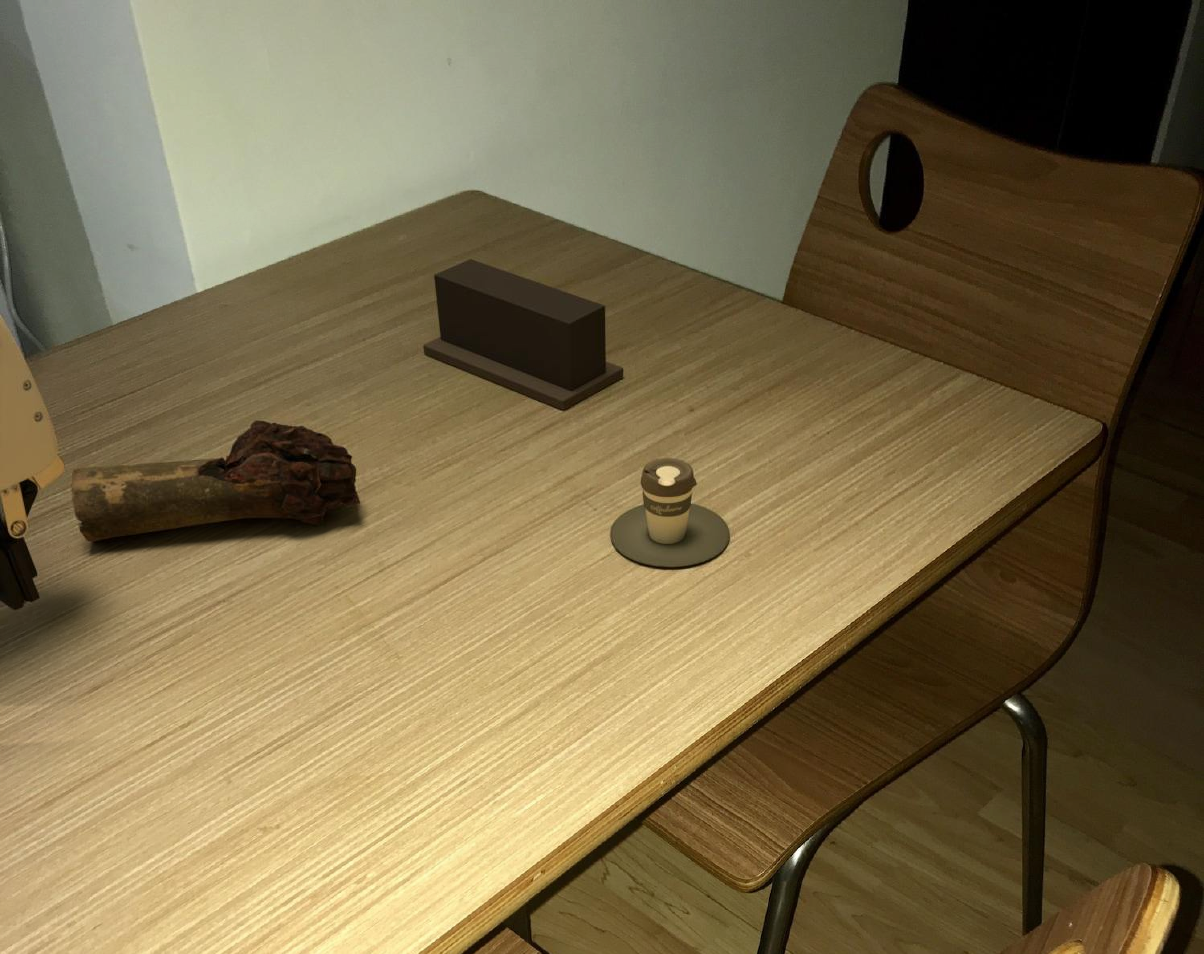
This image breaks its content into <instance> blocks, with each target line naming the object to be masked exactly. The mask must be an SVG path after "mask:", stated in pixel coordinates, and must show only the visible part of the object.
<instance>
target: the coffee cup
mask: <svg viewBox="0 0 1204 954" xmlns="http://www.w3.org/2000/svg"><path fill="white" fill-rule="evenodd" d="M697 484H698V483H697V479H696V478H695V475H694V469H693V467H692V466H691V465H690V463H688V462H686V461H684V460H682V459H679V458H675V457H674V458H673V457H663V458H657V459H653V460H651V461H649V462H647V463H646V464H645V465H644V466H643V469H642V472H641V478H640V486H641V488H642V502H643V504H640V505H637V506H635V507H632V508H630V509H628V510H626V511H624V512H623V513H622V514H620V515H619V516H618V517H617V518H615V520H614V522H613V523H612V525H611V527H610V532H609V536H610V541H611V543H612V545H613V547H614V549H615V550H616V551H617V552H618V553H619V554H620V555H621V556H622V557H624V558H626V559H628V560H630V561H632V562H635V563H637V564H641V565H643V566H649V567H656V568H662V569H673V568H676V569H677V568H678V569H680V568H687V567H688V568H689V567H694V566H697V565H701V564H704V563H706V562H708V561H710V560H713V559H715V558H716V557H717V556H719V555H720V554H721V553H722V552H723V551H724V550H725V548H726V547H727V546H728V544H729V541H730V537H731V536H730V533H731V532H730V529H729V526H728V523H727V522H726V520H725V519H724V518H722V516H720V515H719V514H718V513H717V512H715V511H713V510H711V509H710V508H708V507H705V506H702V505H699V504H695V503H692V498H693V488H694V487H696V486H697Z"/></svg>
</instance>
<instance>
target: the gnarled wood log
mask: <svg viewBox="0 0 1204 954" xmlns="http://www.w3.org/2000/svg"><path fill="white" fill-rule="evenodd" d="M352 459H353V456H352V454H350V453H349V451H348V450H347V448H346V447H344V446H341V445H337V444H334V443H333V441H332V438H330V437H329V435H327V434H324V433H321V432H317V431H314V430H312V429H309V428H307V427H305V426H304V425H298V426H297V425H288V424H281V423H277V422H268V421H265V420H254V421H253V422H252V423H251V424H250V427H249V428H248V429H246V430H245V431H244V432H243V433H242V434H241V435H238V436H237V438H236V439H235V440H234V442H233V443H232V446H231V449H230V452H229V454H228V455H226V458H225V459H224V457H219V458H218V457H217V458H202V459H191V460H178V461H164V462H163V461H162V462H161V461H160V462H149V463H148V462H147V463H135V464H130V465H129V464H126V465H125V464H124V465H123V464H121V465H109V466H92V467H79V468H75V469H73V470H72V474H71V484H70V488H71V490H70V492H71V494H70V496H71V503H72V509H73V511H74V515H75V518H76V520H77V521H79V522H80V523H77V526H78V527H79V532H80V533H81V535H82V536H83V537H84V539H85V540H86V541H87V542H98V541H103V540H108V539H114V538H120V537H123V536H126V537H127V536H132V535H139V534H146V533H153V532H159V531H167V530H173V529H178V528H179V529H180V528H185V527H191V526H198V525H206V524H212V523H220V522H226V521H234V520H242V519H280V520H286V519H294V520H297V521H298V522H302V523H307V524H310V525H315V526H323V524H324V516H325V513H327V512H328V510H330V509H331V508H332V507H337V506H339V505H342V504H344V505H345V506H347V507H351V506H352V507H355V506H358V505H360V504H361V501H360V497H359V494H358V491H357V487H356V485H355V484H356V482H357V479H356V478H357V468H356V465H354V464H353V463H352Z"/></svg>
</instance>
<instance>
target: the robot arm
mask: <svg viewBox="0 0 1204 954" xmlns="http://www.w3.org/2000/svg"><path fill="white" fill-rule="evenodd" d="M55 431H56V430H55V427H54V425H53V422H52V420H51V416H50V414H49V411H48V409H47V407H46V405H45V402H44V399H43V397H42V395H41V392H40V390H39V387H38V385H37V383H36V381H35V379H34V376H33V374H32V372H31V370H30V367H29V366H28V363H27V361H26V359H25V358H24V355H23V353H22V352H21V349H20V348H19V345H18V343H17V342H16V340H15V338H14V337H13V334H12V333H11V331H10V329H9V327H8V326H7V324H6V321H5V320H4V319H3V316H2V315H1V314H0V602H1V603H2V604H3V605H5V606H7V607H8V608H10V610H12V611H16V612H17V610H19V609H22V608H24V605H25V603H28V602H29V603H33V602H35V601H37V600H40V598H41V597H40V594H39V591H38V589H37V585H36V584H35V580H34V578H36V577H37V576H38V571H37V568H36V565H35V563H34V560H33V557H32V555H31V553H30V549H29V547H28V545H27V542H26V539H25V536H27V534H28V532H29V521H28V516H29V515H30V512H31V509H32V507H33V506H34V502H35V500H36V498H37V496H38V493H39V491H40V490H43V489H45V488H46V487H47V486H49V485H50V484H51V483H53V482H54V481H55V480H56V479H58V478H59V477H60V476H61V475H63V473H64V472H65V470H66V464H65V462H64V460H63V459H62V457H61V456H60V454H59V443H58V439H57V435H56V432H55Z"/></svg>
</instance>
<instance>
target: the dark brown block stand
mask: <svg viewBox="0 0 1204 954" xmlns="http://www.w3.org/2000/svg"><path fill="white" fill-rule="evenodd" d="M433 277H434V287H435V297H436V308H437V316H438V325H439V334H440V335H439V337H437V338H434V339H432V340H431V341H428V342H426V343H424V344H423V345H422V346H423V347H422V348H423V354H424V355H425V356H429V357H431V358H433V359H436V360H439V361H440V362H443V363H445V364H448V365H450V366H453V367H455V368H458V369H460V370H463V371H465V372H468V373H470V374H473V375H475V376H478V377H480V378H483V379H485V380H487V381H490V382H493V383H494V384H497V385H500V386H502V387H504V388H507V389H509V390H512V391H515V392H517V393H519V394H522V395H524V396H527V397H529V398H532V399H534V400H537V401H539V402H541V403H544V404H546V405H549V406H552V407H554V408H556V409H559V410H562V411H565V410H567V409H569V408H571V407H573V406H574V405H576V404H578V403H580V402H581V401H583V400H584V399H587V398H588V397H591V396H593V395H594V394H596V393H597V392H599V391H601V390H603V389H605V388H606V387H608V386H610V385H611V384H613V383H615V382H617V381H619V380H620V379H623V378H624V367H622V366H619V365H617V364H613V363H611V362H609V361H607V353H606V352H607V351H606V350H607V348H606V347H607V345H606V342H607V341H606V340H607V339H606V305H604V304H601V303H598V302H597V301H596V302H595V301H592V300H590V299H587V298H584V297H582V296H578V295H575V294H572V293H570V292H567V291H564V290H561V289H558V288H555V287H553V286H550V285H546V284H544V283H541V282H539V281H535V280H532V279H529V278H526V277H525V276H524V277H523V276H521V275H518V274H515V273H512V272H509V271H506V270H504V269H500V268H497V267H495V266H492V265H490V264H486V263H483V262H481V261H477V260H474V259H473V258H469V259H466V260H464V261H462V262H460V263H458V264H456V265H453V266H450V267H449V268H446V269H443V270H442V271H439V272H437V273H435V274H434V275H433Z"/></svg>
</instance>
